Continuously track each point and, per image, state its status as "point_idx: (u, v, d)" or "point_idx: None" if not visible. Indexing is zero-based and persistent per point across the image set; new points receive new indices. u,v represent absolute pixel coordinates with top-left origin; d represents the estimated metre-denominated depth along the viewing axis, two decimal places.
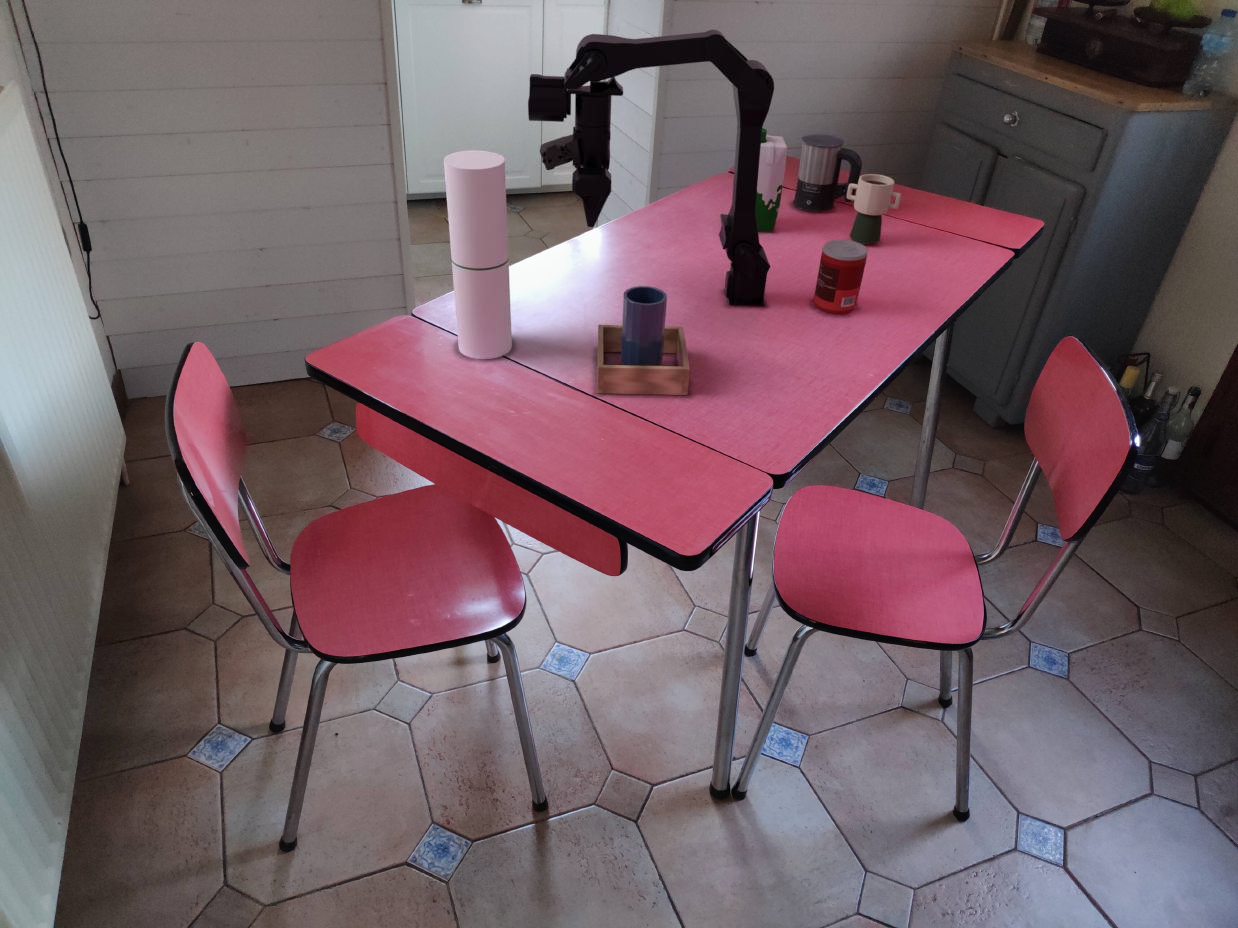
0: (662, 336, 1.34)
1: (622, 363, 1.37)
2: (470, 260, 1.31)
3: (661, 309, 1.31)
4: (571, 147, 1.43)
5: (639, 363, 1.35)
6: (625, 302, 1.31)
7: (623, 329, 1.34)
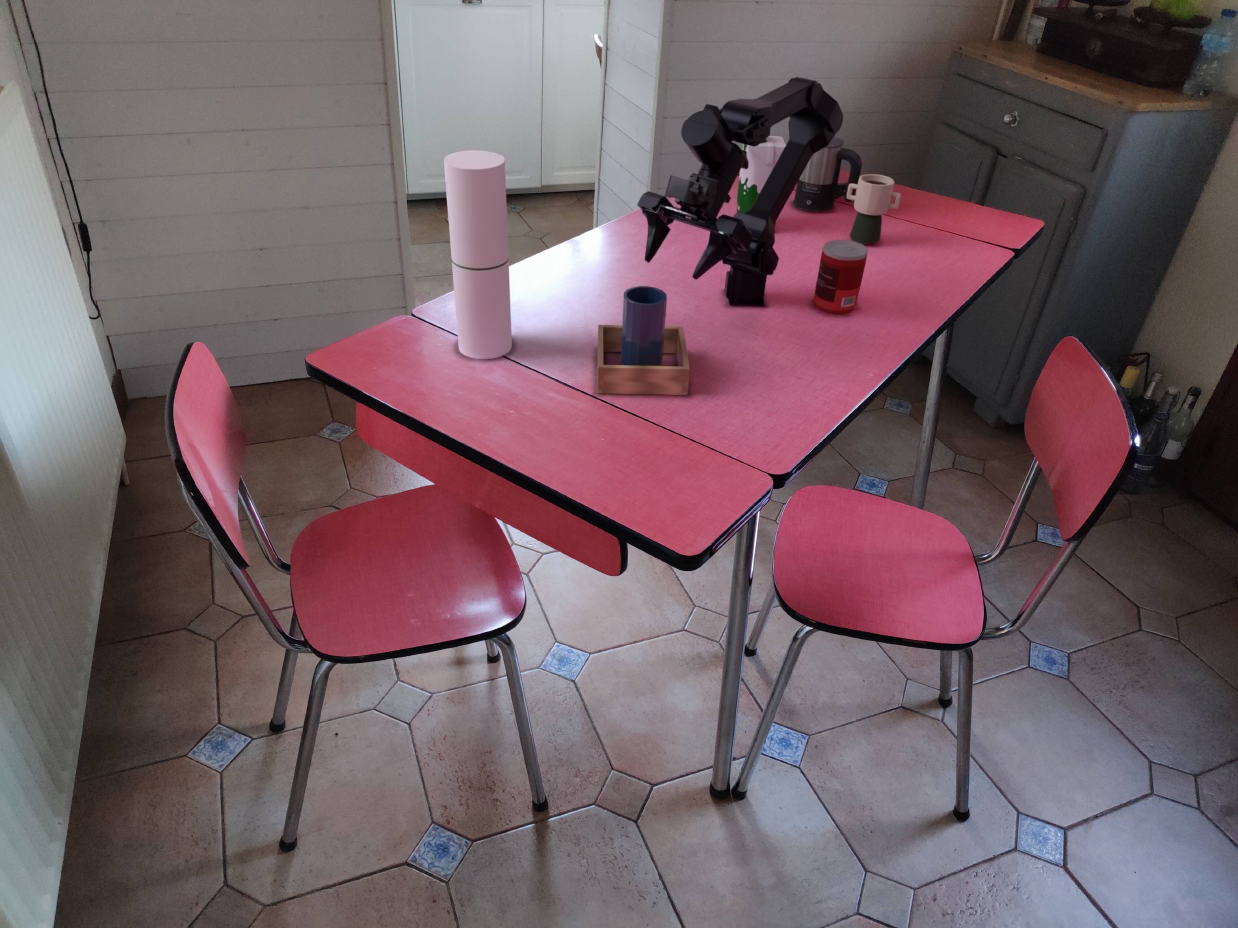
0: (662, 336, 1.34)
1: (622, 363, 1.37)
2: (470, 260, 1.31)
3: (661, 309, 1.31)
4: None
5: (639, 363, 1.35)
6: (625, 302, 1.31)
7: (623, 329, 1.34)
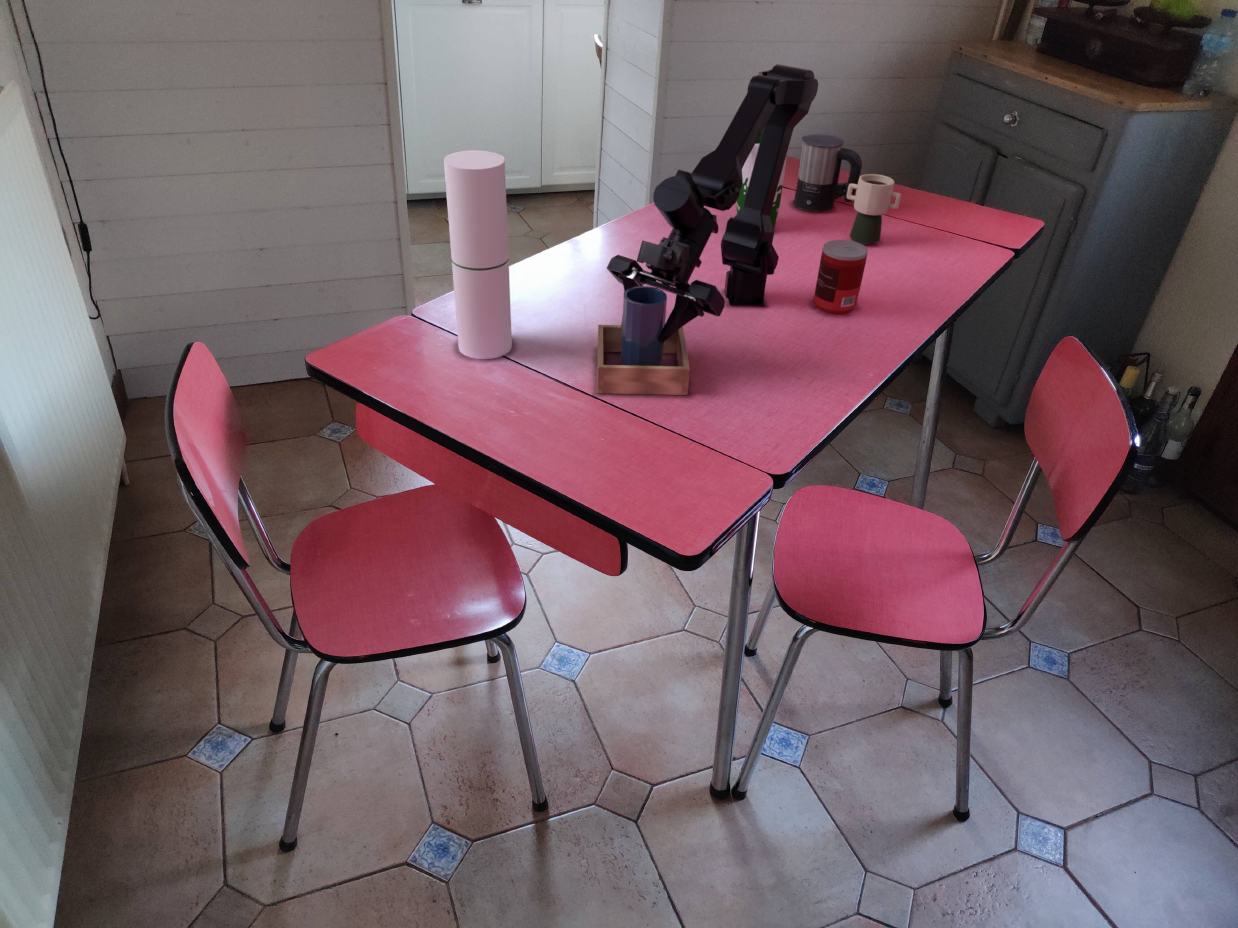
0: None
1: (622, 363, 1.37)
2: (470, 260, 1.31)
3: (661, 309, 1.31)
4: None
5: (639, 363, 1.35)
6: (625, 303, 1.31)
7: (623, 329, 1.34)
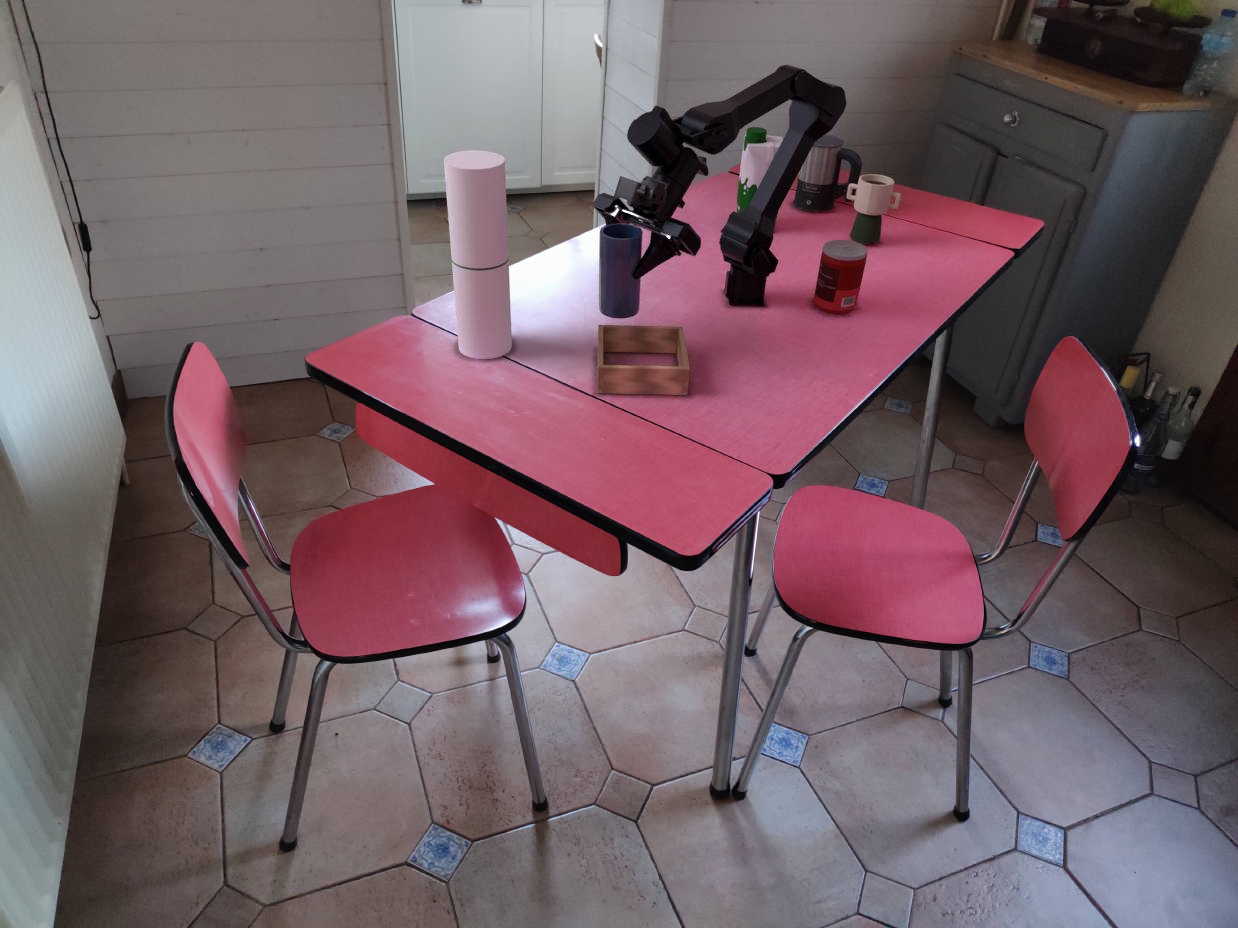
0: None
1: (599, 299, 1.40)
2: (470, 260, 1.31)
3: (635, 245, 1.32)
4: None
5: (614, 299, 1.37)
6: (600, 237, 1.33)
7: (599, 264, 1.36)
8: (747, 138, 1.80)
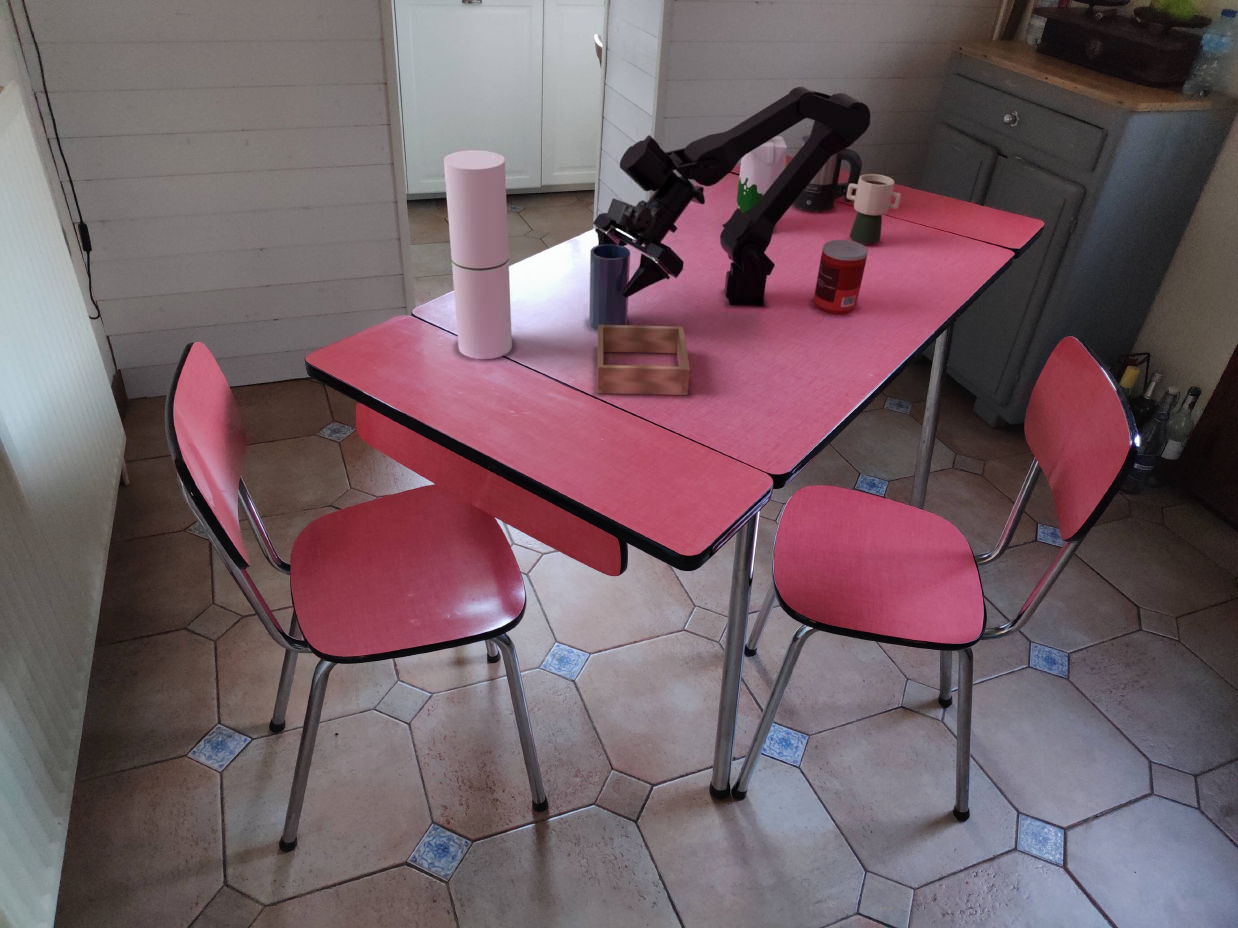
0: None
1: (589, 312, 1.50)
2: (470, 260, 1.31)
3: (620, 265, 1.43)
4: None
5: (599, 313, 1.48)
6: (590, 255, 1.44)
7: None
8: None
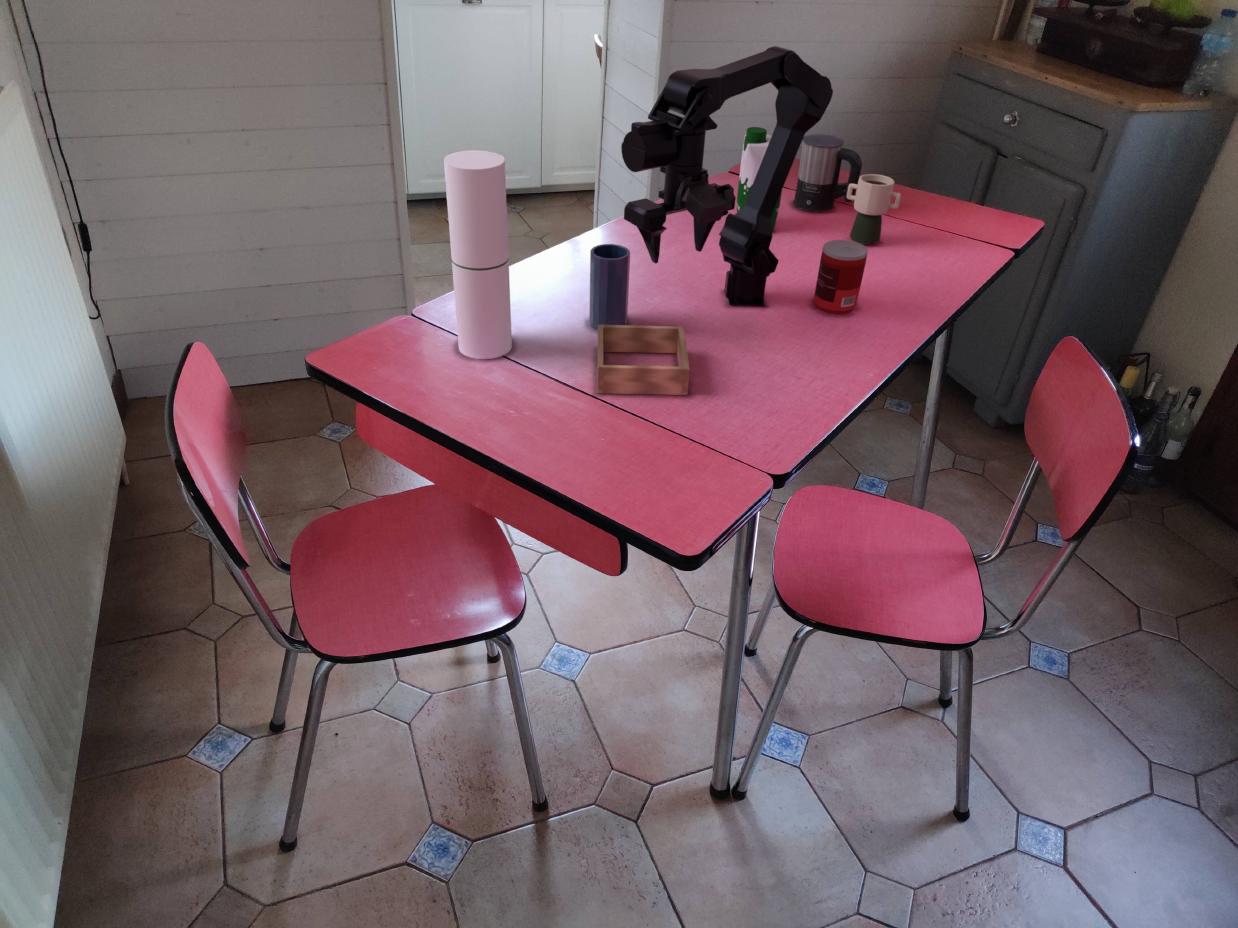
0: (623, 292, 1.46)
1: (589, 312, 1.50)
2: (470, 260, 1.31)
3: (620, 265, 1.43)
4: None
5: (599, 313, 1.48)
6: (590, 255, 1.44)
7: None
8: (747, 138, 1.80)
